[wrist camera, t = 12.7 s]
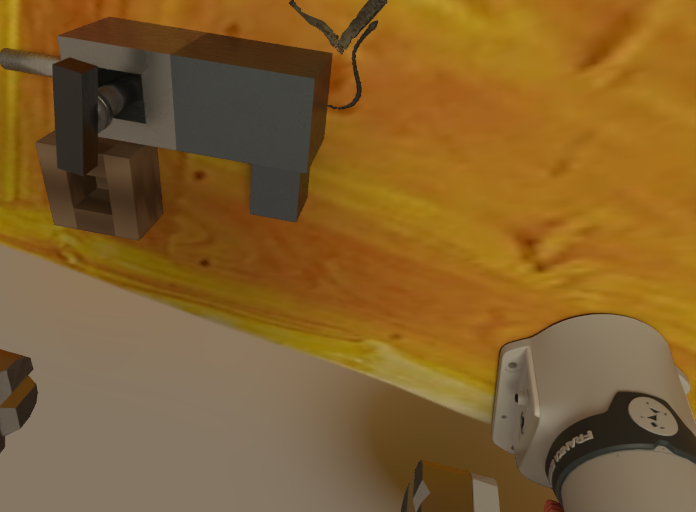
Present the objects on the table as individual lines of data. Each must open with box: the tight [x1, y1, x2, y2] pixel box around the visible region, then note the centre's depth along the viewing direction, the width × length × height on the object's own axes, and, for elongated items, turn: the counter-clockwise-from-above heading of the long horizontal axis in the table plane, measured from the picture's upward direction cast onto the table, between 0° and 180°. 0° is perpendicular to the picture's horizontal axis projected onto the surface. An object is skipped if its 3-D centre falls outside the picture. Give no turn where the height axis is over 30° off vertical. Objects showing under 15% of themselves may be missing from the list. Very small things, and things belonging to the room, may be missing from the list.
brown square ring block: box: [35, 131, 163, 241], centre depth 48 cm, size 8×8×5 cm
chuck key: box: [52, 57, 143, 176], centre depth 38 cm, size 3×7×11 cm, turn 165°
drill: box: [0, 17, 333, 222], centre depth 43 cm, size 25×13×7 cm, turn 83°
